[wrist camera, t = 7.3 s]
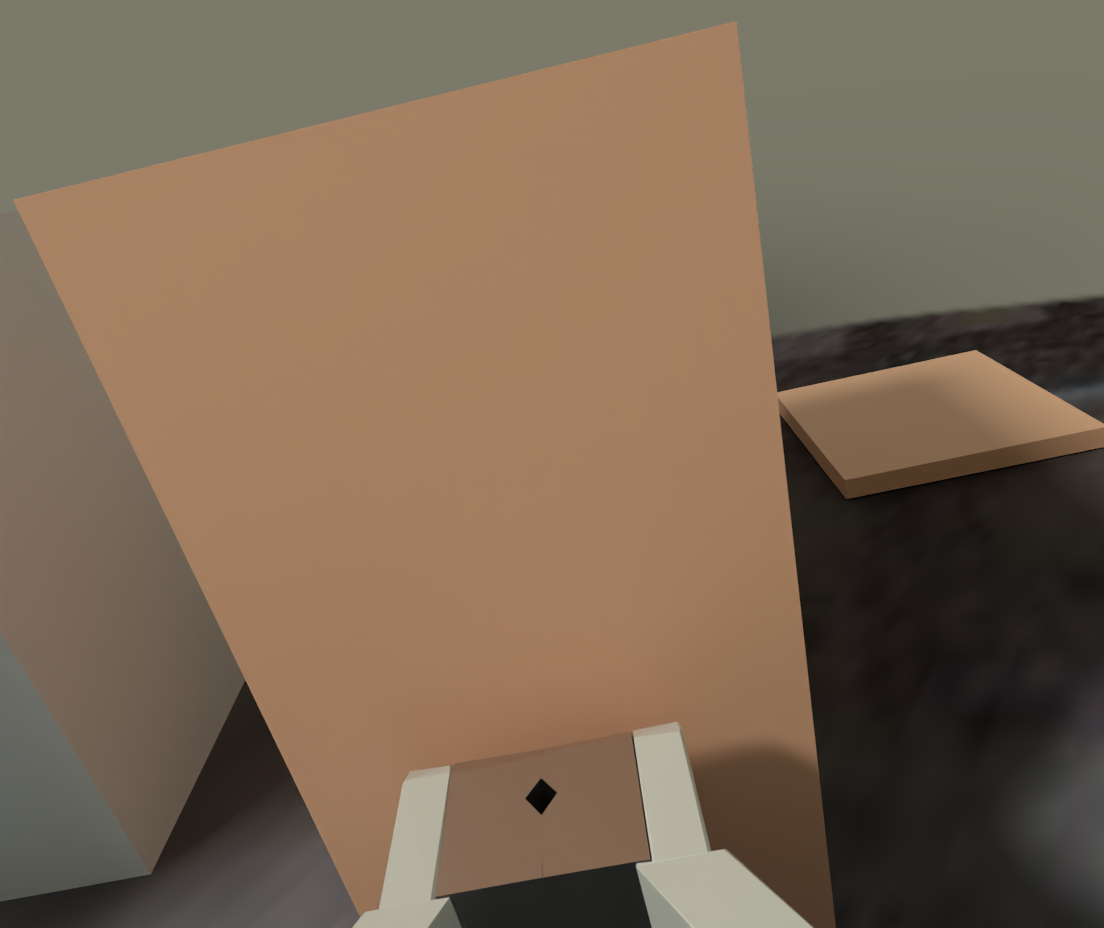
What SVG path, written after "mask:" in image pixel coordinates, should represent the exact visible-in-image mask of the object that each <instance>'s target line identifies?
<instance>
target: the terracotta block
mask: <svg viewBox="0 0 1104 928" xmlns="http://www.w3.org/2000/svg"><path fill="white" fill-rule="evenodd" d="M13 201H14V203H15V205H16V207H17V209H18V211H19V213H20V216H21V218H22V220H23V222H24V224H25V226H26V228H27V230H28V232H29V234H30V236H31V238H32V240H33V242H34V244H35V246H36V249H37V251H38V253H39V255H40V257H41V259H42V261H43V263H44V265H45V267H46V269H47V271H48V273H49V275H50V277H51V280H52V282H53V284H54V286H55V288H56V290H57V292H58V294H59V296H60V298H61V300H62V302H63V304H64V306H65V308H66V311H67V313H68V315H69V317H70V319H71V321H72V323H73V325H74V327H75V329H76V331H77V333H78V335H79V337H80V339H81V341H82V344H83V346H84V348H85V350H86V352H87V354H88V356H89V358H90V360H91V362H92V364H93V366H94V368H95V370H96V372H97V375H98V377H99V379H100V381H101V383H102V385H103V387H104V389H105V391H106V393H107V395H108V397H109V399H110V401H111V403H112V406H113V408H114V410H115V412H116V414H117V416H118V418H119V420H120V422H121V424H122V426H123V428H124V430H125V432H126V434H127V436H128V439H129V441H130V443H131V445H132V447H133V449H134V451H135V453H136V455H137V457H138V459H139V461H140V463H141V465H142V467H143V470H144V472H145V474H146V476H147V478H148V480H149V482H150V484H151V486H152V488H153V490H154V492H155V494H156V496H157V498H158V501H159V503H160V505H161V507H162V509H163V511H164V513H165V515H166V517H167V519H168V521H169V523H170V525H171V527H172V529H173V531H174V534H175V536H176V538H177V540H178V542H179V544H180V546H181V548H182V550H183V552H184V554H185V556H186V558H187V560H188V562H189V565H190V567H191V569H192V571H193V573H194V575H195V577H196V579H197V581H198V583H199V585H200V587H201V589H202V591H203V593H204V596H205V598H206V600H207V602H208V604H209V606H210V608H211V610H212V612H213V614H214V616H215V618H216V620H217V622H218V624H219V626H220V629H221V631H222V633H223V635H224V637H225V639H226V641H227V643H228V645H229V647H230V649H231V651H232V653H233V655H234V657H235V660H236V662H237V664H238V666H239V668H240V670H241V672H242V674H243V676H244V678H245V680H246V682H247V684H248V686H249V688H250V691H251V693H252V695H253V697H254V699H255V701H256V703H257V705H258V707H259V709H260V711H261V713H262V715H263V717H264V719H265V721H266V724H267V726H268V728H269V730H270V732H271V734H272V736H273V738H274V740H275V742H276V744H277V746H278V748H279V750H280V752H281V755H282V757H283V759H284V761H285V763H286V765H287V767H288V769H289V771H290V773H291V775H292V777H293V779H294V781H295V783H296V786H297V788H298V790H299V792H300V794H301V796H302V798H303V800H304V802H305V804H306V806H307V808H308V810H309V812H310V814H311V817H312V819H313V821H314V823H315V825H316V827H317V829H318V831H319V833H320V835H321V837H322V839H323V841H324V843H325V845H326V847H327V850H328V852H329V854H330V856H331V858H332V860H333V862H334V864H335V866H336V868H337V870H338V872H339V874H340V876H341V878H342V881H343V883H344V885H345V887H346V889H347V891H348V893H349V895H350V897H351V899H352V901H353V903H354V905H355V907H356V909H357V912H358V914H359V916H360V917H361V916H362V915H363V913H364V912H367V911H372V910H377V909H379V906H380V901H381V895H382V890H383V885H384V880H385V874H386V869H387V864H388V858H389V853H390V848H391V843H392V837H393V832H394V827H395V822H396V816H397V811H398V806H399V800H400V795H401V790H402V785H403V783H404V781H405V779H406V777H407V776H408V774H409V772H410V771H416V770H423V769H429V768H436V767H442V766H449V765H454V764H455V763H460V762H466V761H472V760H479V759H485V758H491V757H497V756H503V755H510V754H516V753H522V752H528V751H534V750H541V749H544V748H549V747H554V746H559V745H564V744H569V743H574V742H579V741H584V740H589V739H594V738H600V737H605V736H610V735H615V734H620V733H625V732H630V731H632V732H633V730H638V729H643V728H648V727H653V726H658V725H663V724H668V723H673V722H678V723H679V724H680V726H681V727H682V730H683V735H684V739H685V743H686V747H687V751H688V756H689V760H690V764H691V768H692V772H693V777H694V781H695V785H696V789H697V794H698V798H699V802H700V806H701V810H702V815H703V819H704V823H705V827H706V832H707V836H708V840H709V844H710V848H711V851H715V850H722V849H727V850H728V851H729V852H730V853H731V854H732V855H734V856H735V857H736V858H737V859H738V860H739V861H740V862H741V863H743V864H744V865H745V866H746V867H747V868H748V869H749V870H750V871H751V872H753V873H754V874H755V875H756V876H757V877H758V878H759V879H760V880H762V881H763V882H764V883H765V884H766V885H767V886H768V887H769V888H770V889H772V890H773V891H774V892H775V893H776V894H777V895H778V896H779V897H780V898H782V899H783V900H784V901H785V902H786V903H787V904H788V905H789V906H791V907H792V908H793V909H794V910H795V911H796V912H797V913H798V914H799V915H801V916H802V917H803V918H804V919H805V920H806V921H807V922H808V923H810V924H811V925H812V926H813V927H814V928H836V924H835V915H834V906H833V897H832V888H831V879H830V870H829V861H828V852H827V842H826V833H825V824H824V815H823V806H822V797H821V788H820V779H819V770H818V760H817V751H816V742H815V733H814V724H813V715H812V706H811V697H810V688H809V679H808V669H807V660H806V651H805V642H804V633H803V624H802V615H801V606H800V597H799V588H798V578H797V569H796V560H795V551H794V542H793V533H792V524H791V515H790V506H789V497H788V487H787V478H786V469H785V460H784V451H783V442H782V433H781V424H780V415H779V405H778V396H777V387H776V378H775V369H774V360H773V351H772V342H771V333H770V324H769V314H768V305H767V296H766V288H765V278H764V270H763V260H762V251H761V242H760V233H759V224H758V214H757V205H756V196H755V188H754V178H753V169H752V160H751V151H750V143H749V132H748V124H747V114H746V105H745V96H744V87H743V78H742V69H741V60H740V51H739V42H738V32H737V23H736V21H735V22H731V23H727V24H723V25H719V26H715V27H711V28H707V29H704V30H699V31H695V32H691V33H687V34H683V35H679V36H675V37H671V38H667V39H663V40H659V41H655V42H651V43H646V44H642V45H638V46H634V47H630V48H626V49H622V50H618V51H614V52H610V53H606V54H602V55H598V56H594V57H590V58H586V59H582V60H578V61H574V62H570V63H566V64H561V65H557V66H553V67H550V68H545V69H541V70H537V71H533V72H530V73H526V74H521V75H517V76H513V77H509V78H505V79H501V80H497V81H493V82H489V83H485V84H480V85H477V86H472V87H469V88H465V89H460V90H457V91H452V92H448V93H445V94H440V95H436V96H432V97H428V98H424V99H420V100H416V101H412V102H408V103H404V104H400V105H396V106H391V107H387V108H384V109H380V110H375V111H371V112H367V113H363V114H359V115H355V116H351V117H347V118H343V119H339V120H335V121H331V122H327V123H323V124H319V125H315V126H311V127H306V128H302V129H298V130H294V131H290V132H286V133H283V134H278V135H274V136H270V137H266V138H262V139H258V140H254V141H250V142H246V143H242V144H238V145H234V146H230V147H226V148H221V149H218V150H213V151H210V152H206V153H201V154H197V155H193V156H190V157H185V158H181V159H177V160H173V161H169V162H165V163H161V164H157V165H153V166H149V167H145V168H141V169H137V170H133V171H129V172H124V173H120V174H116V175H112V176H108V177H104V178H100V179H96V180H92V181H88V182H84V183H80V184H76V185H72V186H68V187H64V188H60V189H56V190H52V191H48V192H43V193H40V194H35V195H31V196H27V197H23V198H19V199H15V200H13Z"/></svg>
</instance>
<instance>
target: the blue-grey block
mask: <svg viewBox="0 0 1104 928" xmlns="http://www.w3.org/2000/svg"><path fill="white" fill-rule="evenodd" d="M244 682H245V678H244V676H243V674H242V672H241V670H240V668H239V666H238V664H237V662H236V660H235V657H234V655H233V653H232V651H231V649H230V647H229V645H228V643H227V641H226V639H225V637H224V635H223V633H222V631H221V629H220V626H219V624H218V622H217V620H216V618H215V616H214V614H213V612H212V610H211V608H210V606H209V604H208V602H207V600H206V598H205V596H204V593H203V591H202V589H201V587H200V585H199V583H198V581H197V579H196V577H195V575H194V573H193V571H192V569H191V567H190V565H189V562H188V560H187V558H186V556H185V554H184V552H183V550H182V548H181V546H180V544H179V542H178V540H177V538H176V536H175V534H174V531H173V529H172V527H171V525H170V523H169V521H168V519H167V517H166V515H165V513H164V511H163V509H162V507H161V505H160V503H159V501H158V498H157V496H156V494H155V492H154V490H153V488H152V486H151V484H150V482H149V480H148V478H147V476H146V474H145V472H144V470H143V467H142V465H141V463H140V461H139V459H138V457H137V455H136V453H135V451H134V449H133V447H132V445H131V443H130V441H129V439H128V436H127V434H126V432H125V430H124V428H123V426H122V424H121V422H120V420H119V418H118V416H117V414H116V412H115V410H114V408H113V406H112V403H111V401H110V399H109V397H108V395H107V393H106V391H105V389H104V387H103V385H102V383H101V381H100V379H99V377H98V375H97V372H96V370H95V368H94V366H93V364H92V362H91V360H90V358H89V356H88V354H87V352H86V350H85V348H84V346H83V344H82V341H81V339H80V337H79V335H78V333H77V331H76V329H75V327H74V325H73V323H72V321H71V319H70V317H69V315H68V313H67V311H66V308H65V306H64V304H63V302H62V300H61V298H60V296H59V294H58V292H57V290H56V288H55V286H54V284H53V282H52V280H51V277H50V275H49V273H48V271H47V269H46V267H45V265H44V263H43V261H42V259H41V257H40V255H39V253H38V251H37V249H36V246H35V244H34V242H33V240H32V238H31V236H30V234H29V232H28V230H27V228H26V226H25V224H24V222H23V220H22V218H21V216H20V213H19V211H18V210H17V211H12V212H8V213H3V214H0V902H1V901H6V900H12V899H17V898H23V897H28V896H34V895H39V894H45V893H50V892H56V891H61V890H67V889H72V888H78V887H83V886H89V885H94V884H100V883H105V882H111V881H116V880H122V879H127V878H133V877H138V876H144V875H150V874H151V873H152V871H153V869H154V867H155V865H156V863H157V861H158V859H159V857H160V854H161V852H162V850H163V848H164V846H165V844H166V842H167V840H168V838H169V836H170V834H171V832H172V830H173V828H174V826H175V824H176V822H177V820H178V817H179V815H180V813H181V811H182V809H183V807H184V805H185V803H186V801H187V799H188V797H189V795H190V793H191V791H192V789H193V787H194V785H195V782H196V780H197V778H198V776H199V774H200V772H201V770H202V768H203V766H204V764H205V762H206V760H207V758H208V756H209V754H210V752H211V750H212V747H213V745H214V743H215V741H216V739H217V737H218V735H219V733H220V731H221V729H222V727H223V725H224V723H225V721H226V719H227V717H228V715H229V713H230V710H231V708H232V706H233V704H234V702H235V700H236V698H237V696H238V694H239V692H240V690H241V688H242V686H243V684H244Z"/></svg>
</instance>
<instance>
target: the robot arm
mask: <svg viewBox="0 0 1104 928" xmlns="http://www.w3.org/2000/svg"><path fill="white" fill-rule="evenodd" d="M352 928H814V927H813V926H812V925H811V924H810V923H808V922H807V921H806V920H805V919H804V918H803V917H802V916H801V915H799V914H798V913H797V912H796V911H795V910H794V909H793V908H792V907H791V906H789V905H788V904H787V903H786V902H785V901H784V900H783V899H782V898H780V897H779V896H778V895H777V894H776V893H775V892H774V891H773V890H772V889H770V888H769V887H768V886H767V885H766V884H765V883H764V882H763V881H762V880H760V879H759V878H758V877H757V876H756V875H755V874H754V873H753V872H751V871H750V870H749V869H748V868H747V867H746V866H745V865H744V864H743V863H741V862H740V861H739V860H738V859H737V858H736V857H735V856H734V855H732V854H731V853H730V852H729V851H728V850H727V849H722V850H715V851H711V848H710V844H709V840H708V836H707V832H706V827H705V823H704V819H703V815H702V810H701V806H700V802H699V798H698V794H697V789H696V785H695V781H694V777H693V772H692V768H691V764H690V760H689V756H688V751H687V747H686V743H685V739H684V735H683V730H682V727H681V726H680V724H679V723H678V722H673V723H668V724H663V725H658V726H653V727H648V728H643V729H638V730H633V732H632V731H630V732H625V733H620V734H615V735H610V736H605V737H600V738H594V739H589V740H584V741H579V742H574V743H569V744H564V745H559V746H554V747H549V748H544V749H541V750H534V751H528V752H522V753H516V754H510V755H503V756H497V757H491V758H485V759H479V760H472V761H466V762H460V763H455V764H454V765H449V766H442V767H436V768H429V769H423V770H416V771H410V772H409V774H408V776H407V777H406V779H405V781H404V783H403V785H402V790H401V795H400V800H399V806H398V811H397V816H396V822H395V827H394V832H393V837H392V843H391V848H390V853H389V858H388V864H387V869H386V874H385V880H384V885H383V890H382V895H381V901H380V906H379V909H377V910H372V911H367V912H364V913H363V915H362V916H361V917H360V918H359V920H358V921H357V922H356V923H355V925H354V926H353V927H352Z"/></svg>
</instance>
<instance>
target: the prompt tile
mask: <svg viewBox="0 0 1104 928" xmlns="http://www.w3.org/2000/svg"><path fill="white" fill-rule="evenodd" d="M777 396H778V405H779V413H780V415H781V416H782V417H783V418H784V420H785V421H786V422H787V424H788V425H789V426H790V427H791V429H792V430H793V431H794V433H795V434H796V435H797V436H798V438H799V439H800V440H801V442H802V443H803V444H804V445H805V447H806V448H807V449H808V451H809V452H810V453H811V454H812V456H813V457H814V458H815V460H816V461H817V462H818V464H819V465H820V466H821V467H822V469H823V470H824V471H825V473H826V474H827V475H828V476H829V478H830V479H831V480H832V482H833V483H834V484H835V485H836V487H837V488H838V489H839V491H840V492H841V493H842V494H843V496H844V497H845V498H846V499H850V498H855V497H860V496H865V495H870V494H875V493H880V492H884V491H889V490H894V489H899V488H904V487H909V486H914V485H919V484H924V483H929V482H934V481H939V480H944V479H949V478H954V477H959V476H964V475H968V474H973V473H978V472H983V471H988V470H993V469H998V468H1003V467H1008V466H1013V465H1018V464H1023V463H1028V462H1033V461H1038V460H1043V459H1048V458H1053V457H1057V456H1062V455H1067V454H1072V453H1077V452H1082V451H1087V450H1092V449H1097V448H1102V447H1104V424H1103V423H1101V422H1099V421H1098V420H1096V419H1094V418H1092V417H1091V416H1089V415H1087V414H1086V413H1084V412H1082V411H1080V410H1079V409H1077V408H1075V407H1073V406H1072V405H1070V404H1068V403H1067V402H1065V401H1063V400H1061V399H1060V398H1058V397H1056V396H1054V395H1053V394H1051V393H1049V392H1047V391H1046V390H1044V389H1042V388H1041V387H1039V386H1037V385H1035V384H1034V383H1032V382H1030V381H1028V380H1027V379H1025V378H1023V377H1022V376H1020V375H1018V374H1016V373H1015V372H1013V371H1011V370H1009V369H1008V368H1006V367H1004V366H1003V365H1001V364H999V363H997V362H996V361H994V360H992V359H990V358H989V357H987V356H985V355H983V354H982V353H980V352H978V351H977V350H975V351H970V352H965V353H961V354H956V355H951V356H947V357H942V358H937V359H932V360H928V361H923V362H918V363H914V364H909V365H904V366H900V367H895V368H890V369H885V370H881V371H876V372H871V373H867V374H862V375H857V376H853V377H848V378H843V379H838V380H834V381H829V382H824V383H820V384H815V385H810V386H806V387H801V388H796V389H791V390H787V391H782V392H777Z"/></svg>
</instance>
